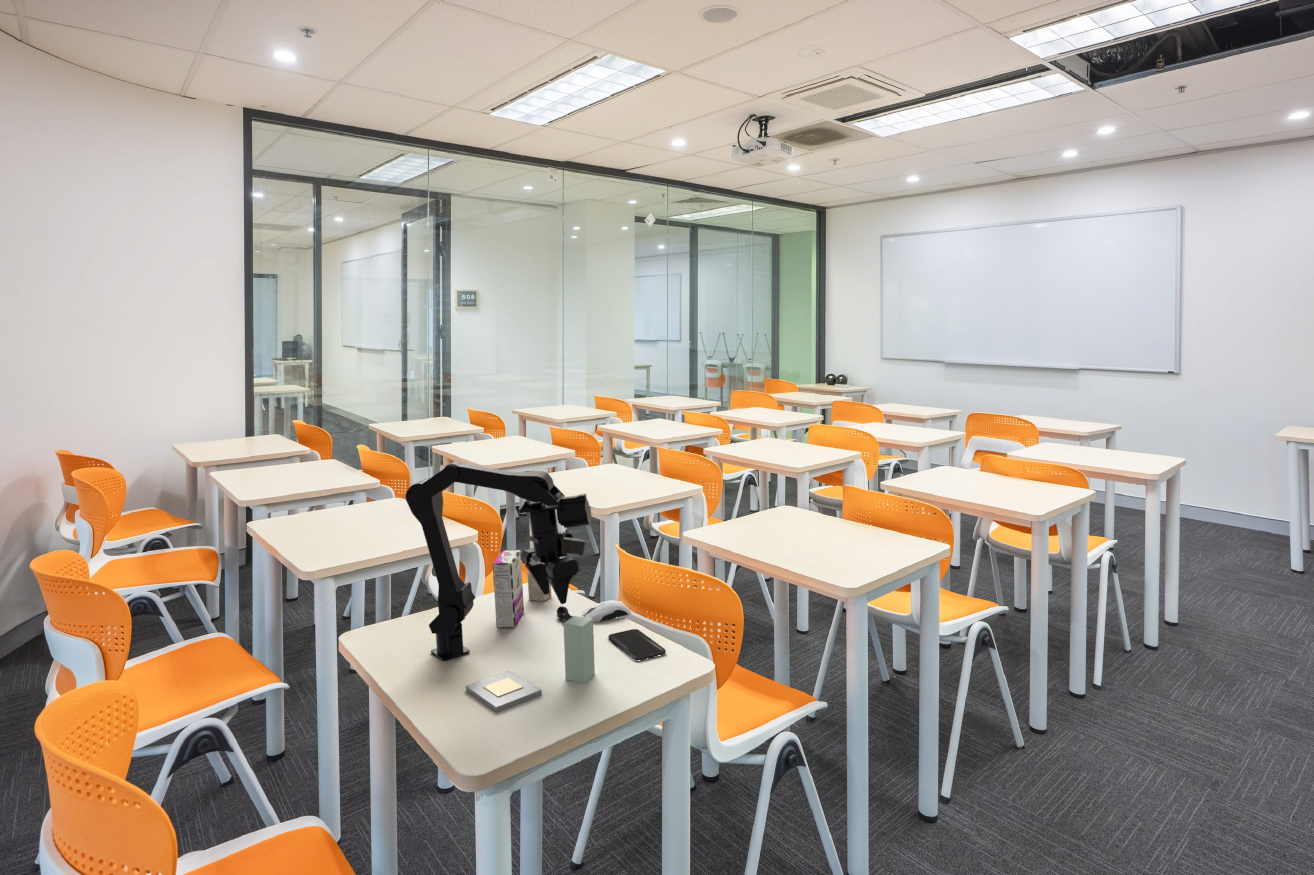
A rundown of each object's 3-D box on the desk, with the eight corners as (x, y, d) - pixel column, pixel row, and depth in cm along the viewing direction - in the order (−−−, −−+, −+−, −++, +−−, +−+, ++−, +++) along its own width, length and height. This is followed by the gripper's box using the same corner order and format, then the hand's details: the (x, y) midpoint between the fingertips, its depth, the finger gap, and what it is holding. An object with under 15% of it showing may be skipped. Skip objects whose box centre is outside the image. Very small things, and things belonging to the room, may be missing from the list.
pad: (465, 690, 145) (465, 684, 145) (510, 674, 152) (509, 669, 152) (496, 712, 136) (496, 706, 136) (541, 694, 143) (541, 688, 143)
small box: (552, 596, 199) (550, 568, 198) (545, 601, 195) (544, 573, 194) (535, 594, 200) (533, 567, 199) (528, 600, 196) (526, 571, 195)
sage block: (565, 679, 149) (563, 623, 147) (576, 670, 153) (574, 615, 152) (584, 683, 147) (582, 626, 146) (594, 674, 151) (593, 618, 150)
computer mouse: (637, 618, 182) (637, 603, 182) (568, 632, 174) (568, 616, 174) (621, 606, 191) (621, 591, 191) (555, 619, 183) (554, 603, 183)
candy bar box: (505, 611, 188) (502, 549, 186) (524, 611, 188) (521, 549, 186) (494, 628, 177) (491, 563, 175) (515, 628, 177) (512, 562, 175)
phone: (636, 628, 173) (667, 650, 160) (636, 632, 173) (667, 655, 160) (606, 635, 170) (635, 658, 156) (606, 639, 170) (635, 663, 157)
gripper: (596, 527, 154) (606, 598, 156) (560, 516, 170) (570, 580, 172) (548, 540, 149) (559, 613, 151) (515, 527, 165) (525, 593, 167)
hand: (554, 598), depth 160 cm, fingers open, 9 cm apart
